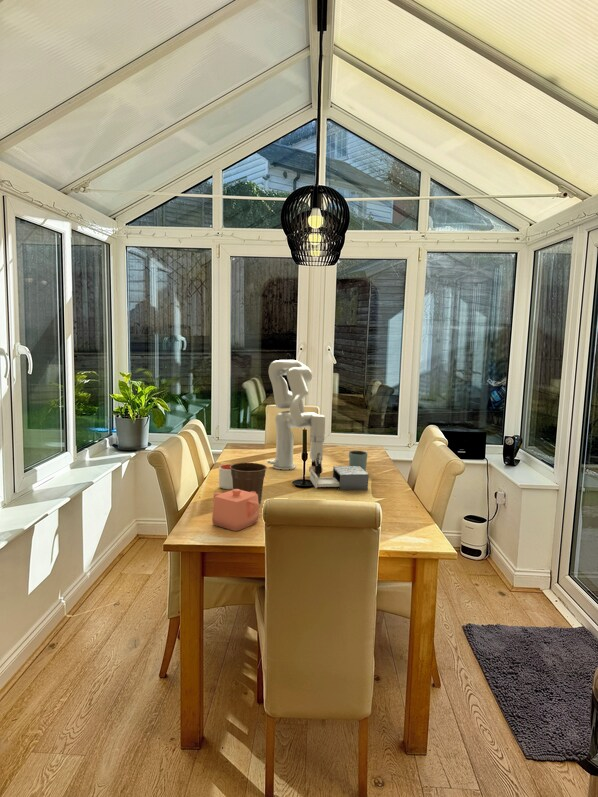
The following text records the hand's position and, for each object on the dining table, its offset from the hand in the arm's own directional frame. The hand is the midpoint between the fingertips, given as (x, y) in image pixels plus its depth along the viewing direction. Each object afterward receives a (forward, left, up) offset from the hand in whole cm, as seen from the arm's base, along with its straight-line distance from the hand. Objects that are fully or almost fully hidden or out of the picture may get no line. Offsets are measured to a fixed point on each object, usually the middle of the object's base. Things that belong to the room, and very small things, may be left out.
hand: (316, 471), depth 283 cm
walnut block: (0, +1, -4) cm, 4 cm away
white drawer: (+2, -12, -3) cm, 13 cm away
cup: (-45, -12, -5) cm, 47 cm away
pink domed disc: (0, +1, 0) cm, 1 cm away
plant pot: (-38, -35, -5) cm, 52 cm away
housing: (+15, -13, -4) cm, 20 cm away
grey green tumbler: (+25, +10, -5) cm, 27 cm away
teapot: (-43, -61, -5) cm, 75 cm away
